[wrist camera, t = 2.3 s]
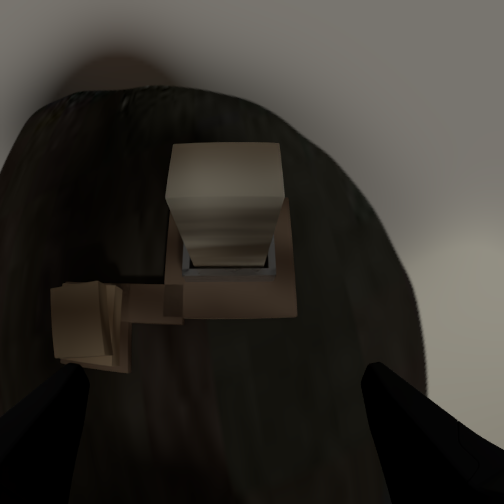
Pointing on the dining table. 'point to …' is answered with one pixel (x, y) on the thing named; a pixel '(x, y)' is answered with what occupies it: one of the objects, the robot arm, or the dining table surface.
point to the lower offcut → (114, 321)
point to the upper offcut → (80, 321)
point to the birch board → (226, 201)
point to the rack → (208, 290)
